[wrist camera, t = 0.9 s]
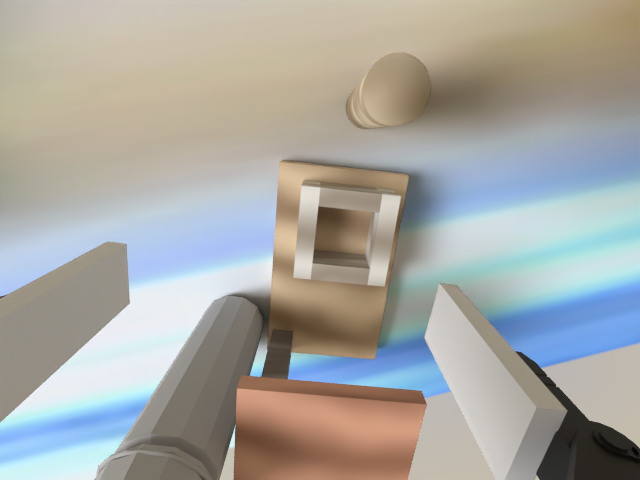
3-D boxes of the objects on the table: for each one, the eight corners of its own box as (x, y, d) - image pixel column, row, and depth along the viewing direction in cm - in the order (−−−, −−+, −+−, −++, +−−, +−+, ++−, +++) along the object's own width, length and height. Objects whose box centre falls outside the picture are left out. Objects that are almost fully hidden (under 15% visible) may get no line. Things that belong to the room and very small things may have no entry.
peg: (348, 83, 32) (369, 48, 19) (389, 88, 32) (437, 56, 19) (343, 126, 34) (359, 121, 20) (382, 130, 34) (423, 129, 20)
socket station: (281, 160, 35) (244, 186, 17) (404, 173, 35) (487, 212, 18) (269, 339, 41) (233, 488, 24) (372, 349, 42) (409, 501, 24)
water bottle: (214, 281, 39) (47, 516, 15) (276, 305, 40) (212, 561, 16) (191, 343, 41) (17, 625, 18) (250, 364, 42) (161, 659, 19)
